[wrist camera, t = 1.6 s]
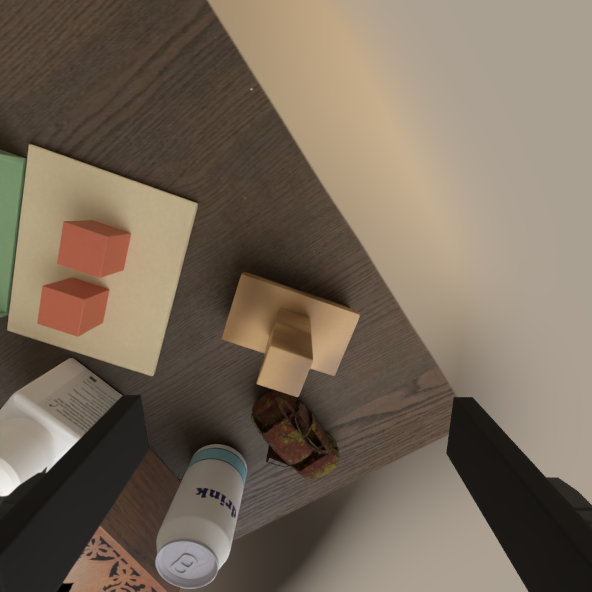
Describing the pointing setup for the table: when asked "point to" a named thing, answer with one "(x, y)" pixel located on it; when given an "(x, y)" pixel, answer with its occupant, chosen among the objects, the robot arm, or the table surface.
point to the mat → (122, 285)
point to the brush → (288, 331)
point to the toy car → (294, 435)
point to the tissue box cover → (128, 537)
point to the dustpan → (9, 220)
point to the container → (49, 420)
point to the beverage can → (202, 518)
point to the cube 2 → (93, 248)
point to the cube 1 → (72, 306)
